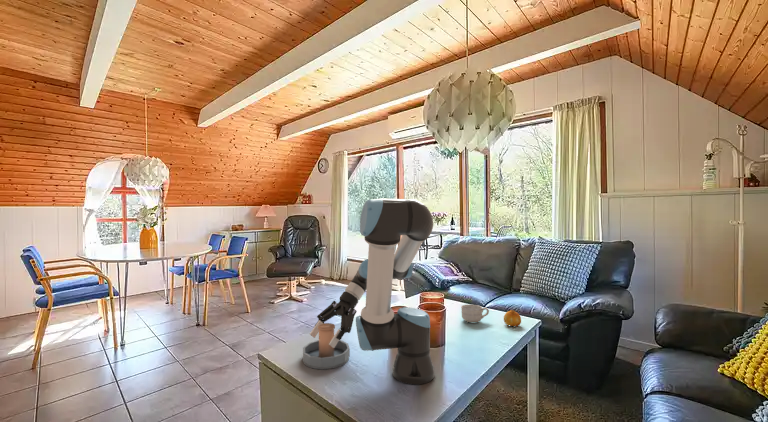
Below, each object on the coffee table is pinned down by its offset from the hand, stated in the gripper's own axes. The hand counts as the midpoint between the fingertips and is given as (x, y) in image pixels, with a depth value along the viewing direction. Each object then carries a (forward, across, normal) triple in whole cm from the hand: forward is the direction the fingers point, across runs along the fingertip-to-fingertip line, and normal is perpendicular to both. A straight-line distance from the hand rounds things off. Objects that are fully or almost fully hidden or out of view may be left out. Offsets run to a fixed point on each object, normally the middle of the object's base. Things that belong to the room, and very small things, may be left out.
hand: (321, 341), depth 136 cm
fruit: (-60, -33, -71) cm, 98 cm away
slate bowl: (+4, 0, -7) cm, 8 cm away
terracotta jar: (+3, 0, -6) cm, 7 cm away
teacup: (-53, -17, -64) cm, 85 cm away
